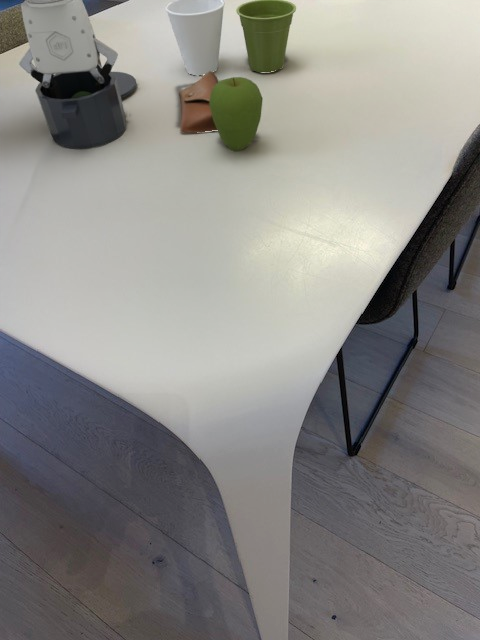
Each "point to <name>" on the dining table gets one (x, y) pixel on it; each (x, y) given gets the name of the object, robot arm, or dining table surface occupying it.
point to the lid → (124, 82)
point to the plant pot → (266, 32)
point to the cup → (197, 32)
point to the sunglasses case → (197, 105)
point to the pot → (83, 111)
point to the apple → (236, 111)
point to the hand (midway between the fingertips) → (82, 105)
